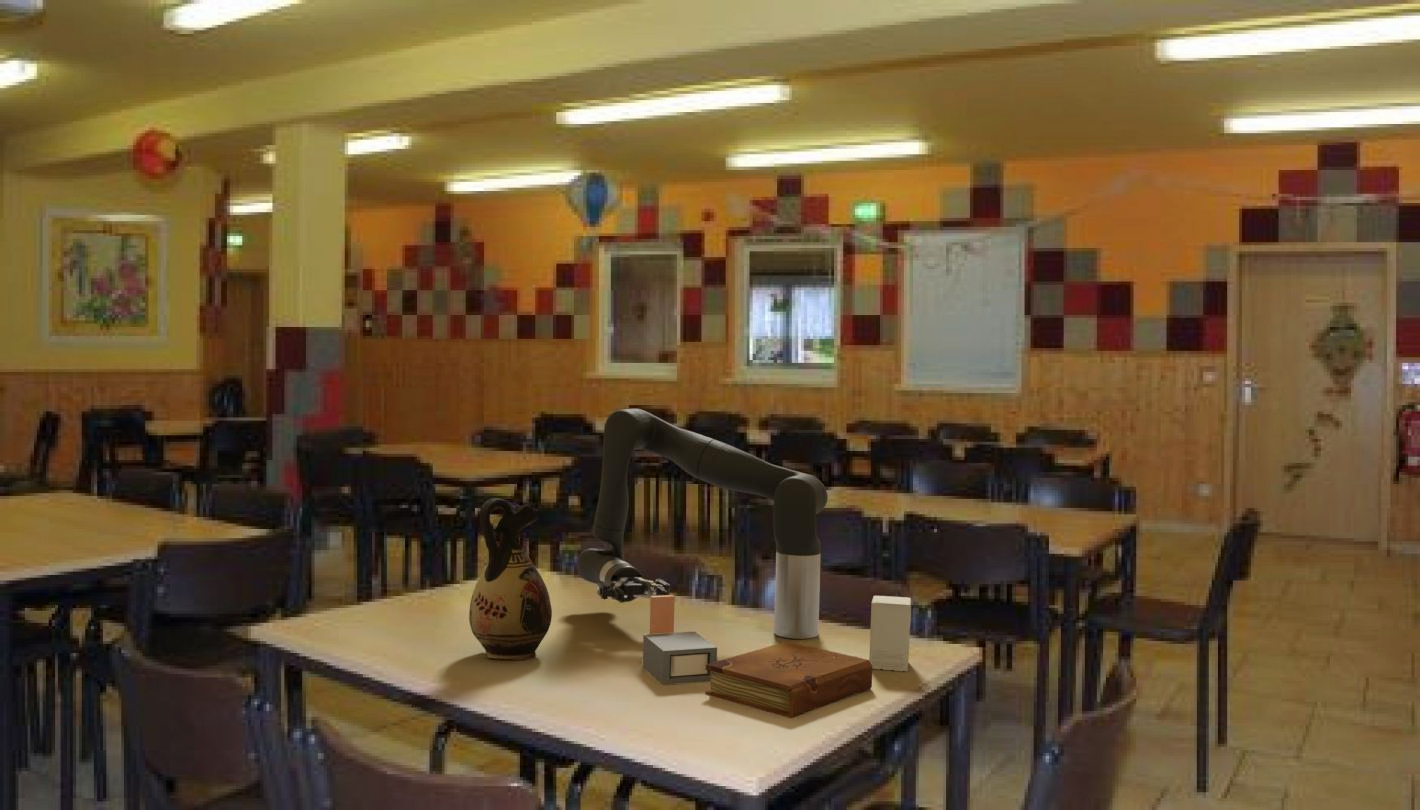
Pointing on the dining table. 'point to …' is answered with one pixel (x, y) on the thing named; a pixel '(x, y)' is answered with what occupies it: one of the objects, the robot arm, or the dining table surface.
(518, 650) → the ceramic jug
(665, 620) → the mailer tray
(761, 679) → the diary
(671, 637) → the sleeve
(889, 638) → the supplement box
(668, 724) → the dining table surface
